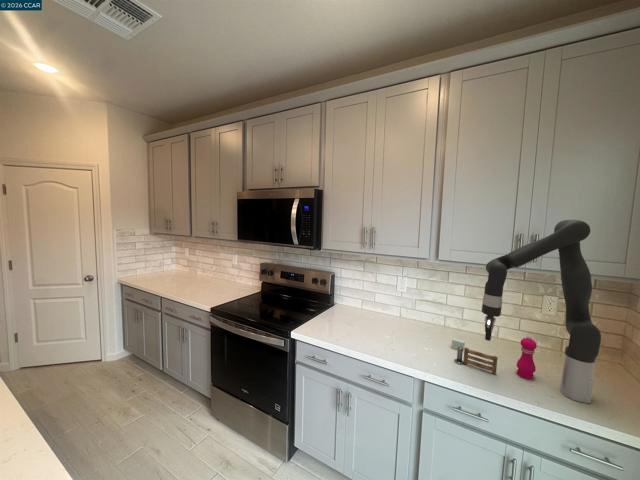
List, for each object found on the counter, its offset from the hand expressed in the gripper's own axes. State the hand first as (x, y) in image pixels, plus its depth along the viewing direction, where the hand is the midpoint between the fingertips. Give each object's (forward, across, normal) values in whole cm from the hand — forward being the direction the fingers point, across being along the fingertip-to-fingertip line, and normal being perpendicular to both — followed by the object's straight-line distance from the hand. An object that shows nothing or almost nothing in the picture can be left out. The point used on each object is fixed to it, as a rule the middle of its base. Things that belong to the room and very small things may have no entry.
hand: (487, 339), depth 126 cm
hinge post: (+18, +5, +12) cm, 22 cm away
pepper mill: (+18, +13, -16) cm, 27 cm away
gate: (+17, +5, +3) cm, 18 cm away
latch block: (+18, +20, +15) cm, 31 cm away
